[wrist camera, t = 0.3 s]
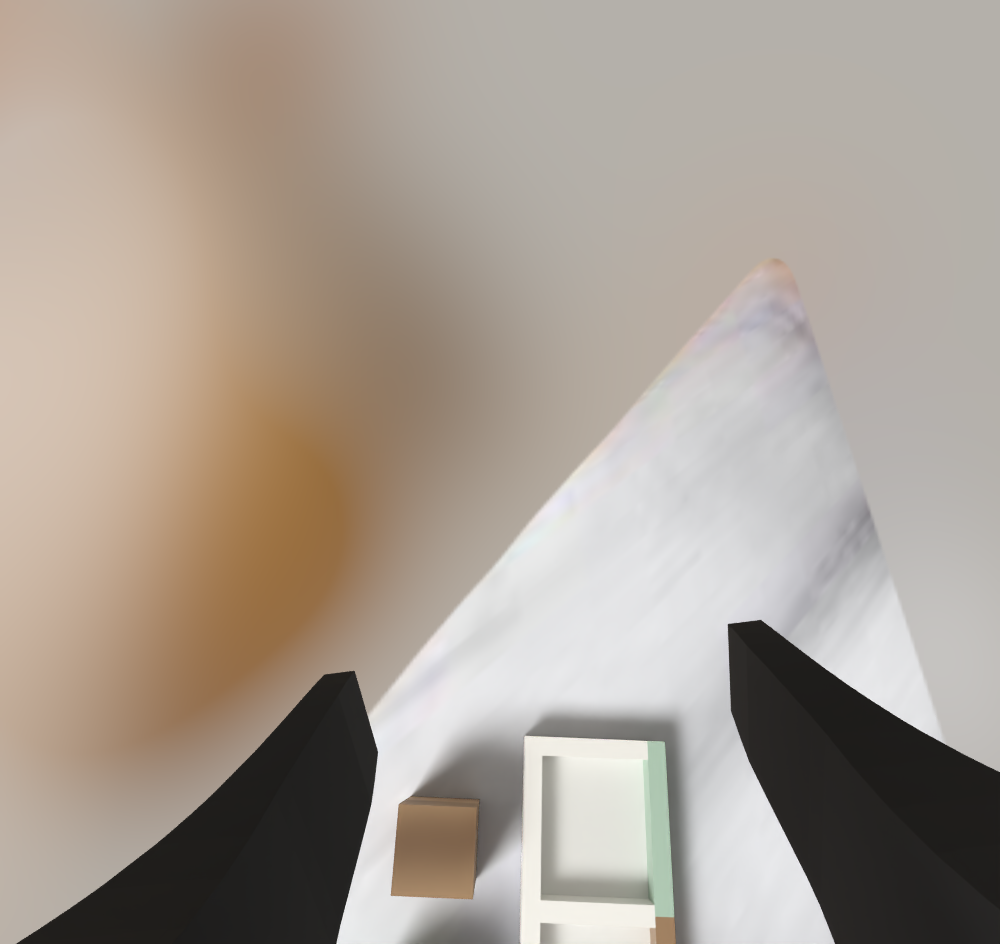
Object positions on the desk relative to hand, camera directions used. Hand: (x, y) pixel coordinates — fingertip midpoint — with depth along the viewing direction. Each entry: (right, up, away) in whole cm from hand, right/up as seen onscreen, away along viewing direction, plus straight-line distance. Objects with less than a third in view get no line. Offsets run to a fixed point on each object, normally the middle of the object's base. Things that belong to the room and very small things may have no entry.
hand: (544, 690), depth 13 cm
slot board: (+4, -20, +23) cm, 31 cm away
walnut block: (-4, -17, +25) cm, 30 cm away
